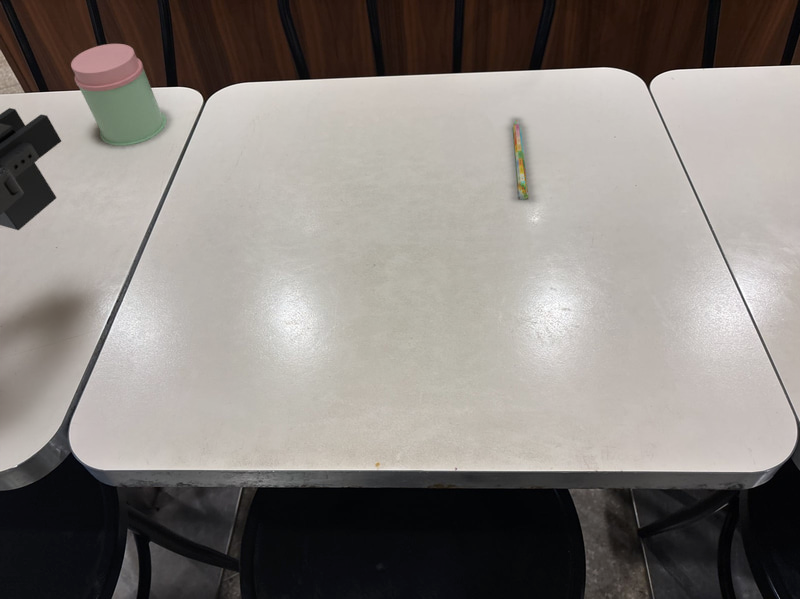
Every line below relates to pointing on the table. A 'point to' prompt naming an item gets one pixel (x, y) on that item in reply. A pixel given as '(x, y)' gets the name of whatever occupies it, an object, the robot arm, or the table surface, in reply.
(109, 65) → the green canister pink lid
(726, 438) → the table surface
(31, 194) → the wall charger plug
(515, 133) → the pencil
